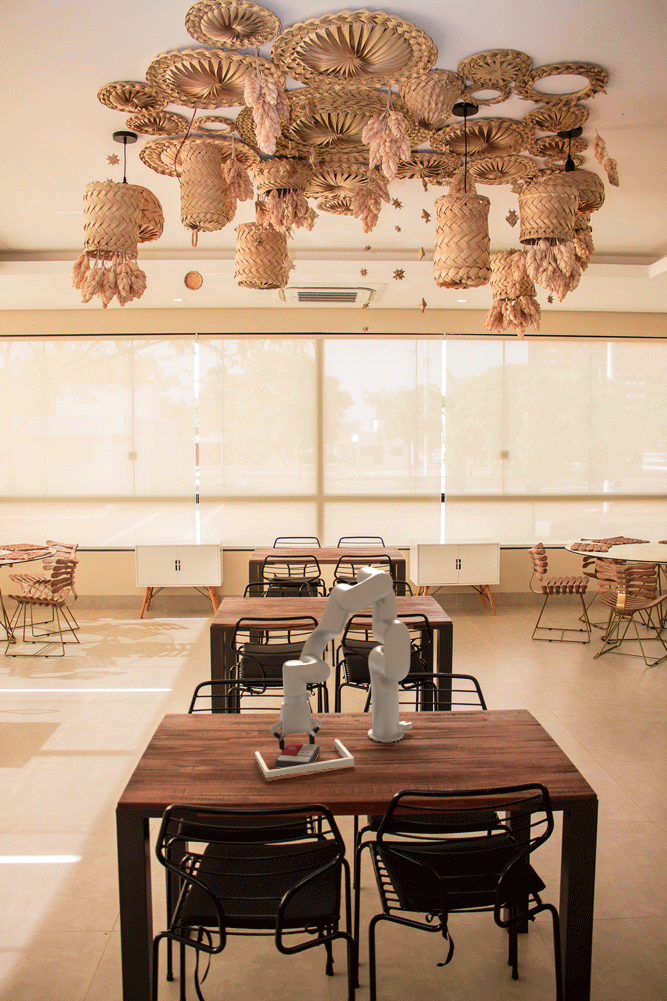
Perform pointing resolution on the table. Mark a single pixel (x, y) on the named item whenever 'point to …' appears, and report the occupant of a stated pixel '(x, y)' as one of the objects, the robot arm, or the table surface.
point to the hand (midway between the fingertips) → (297, 748)
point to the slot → (342, 762)
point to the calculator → (297, 755)
